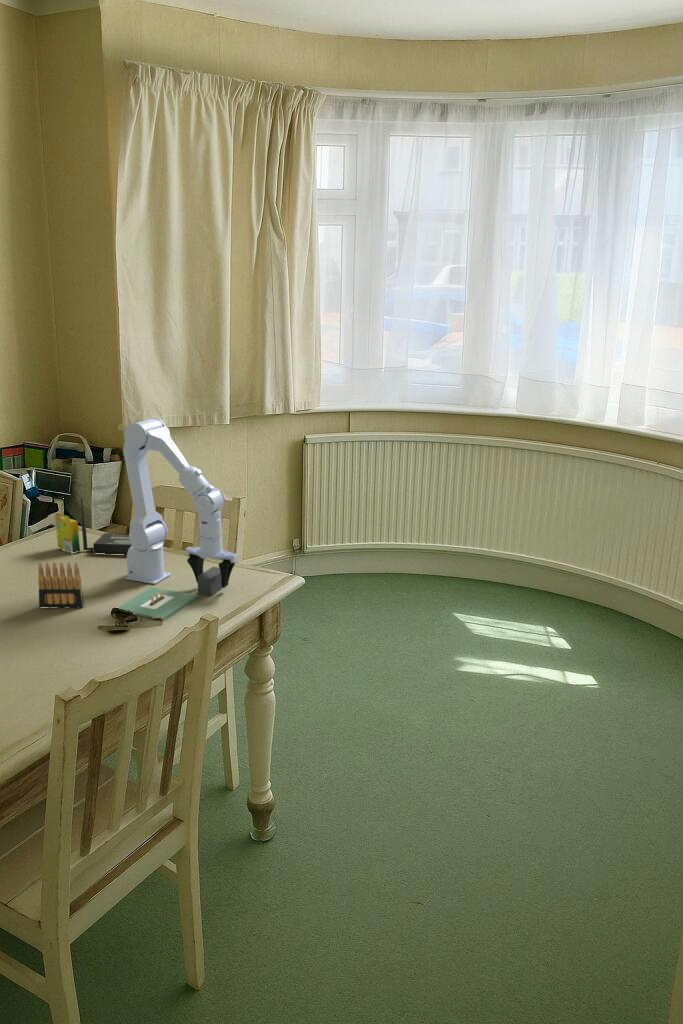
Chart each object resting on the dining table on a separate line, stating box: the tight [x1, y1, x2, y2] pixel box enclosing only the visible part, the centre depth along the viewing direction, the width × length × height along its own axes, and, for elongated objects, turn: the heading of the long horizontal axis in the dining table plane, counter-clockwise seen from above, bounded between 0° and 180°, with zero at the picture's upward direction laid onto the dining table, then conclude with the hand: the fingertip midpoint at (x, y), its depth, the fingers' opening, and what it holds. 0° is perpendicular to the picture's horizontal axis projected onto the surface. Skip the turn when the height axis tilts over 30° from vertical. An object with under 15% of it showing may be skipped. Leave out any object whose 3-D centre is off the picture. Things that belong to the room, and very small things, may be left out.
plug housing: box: [197, 566, 225, 597], centre depth 226 cm, size 4×8×5 cm, turn 158°
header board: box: [117, 586, 198, 621], centre depth 217 cm, size 14×16×3 cm
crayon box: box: [54, 512, 81, 552], centre depth 253 cm, size 7×3×12 cm, turn 52°
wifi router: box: [80, 497, 132, 555], centre depth 254 cm, size 20×14×17 cm
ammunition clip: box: [37, 562, 85, 609], centre depth 213 cm, size 11×2×12 cm, turn 93°
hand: (212, 583), depth 226 cm, fingers open, 7 cm apart
